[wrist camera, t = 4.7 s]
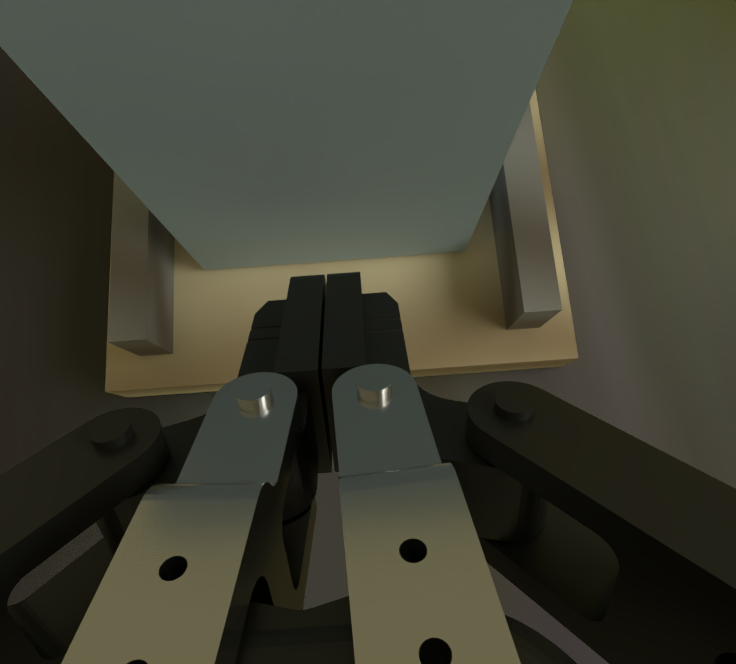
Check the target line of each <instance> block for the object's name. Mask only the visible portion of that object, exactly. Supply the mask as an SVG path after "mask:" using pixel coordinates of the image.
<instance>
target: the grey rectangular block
mask: <svg viewBox="0 0 736 664" xmlns="http://www.w3.org/2000/svg"><path fill="white" fill-rule="evenodd" d="M572 2H573V0H0V47H1V48H2V49H3V50H4V51H5V52H6V53H7V55H8V56H9V57H10V58H11V59H12V60H13V61H14V62H15V63H16V64H17V65H18V67H19V68H20V69H21V70H22V71H23V72H24V73H25V74H26V75H27V76H28V78H29V79H30V80H31V81H32V82H33V83H34V84H35V85H36V86H37V87H38V88H39V90H40V91H41V92H42V93H43V94H44V95H45V96H46V97H47V98H48V99H49V101H50V102H51V103H52V104H53V105H54V106H55V107H56V108H57V109H58V110H59V111H60V113H61V114H62V115H63V116H64V117H65V118H66V119H67V120H68V121H69V122H70V124H71V125H72V126H73V127H74V128H75V129H76V130H77V131H78V132H79V133H80V134H81V136H82V137H83V138H84V139H85V140H86V141H87V142H88V143H89V144H90V145H91V146H92V148H93V149H94V150H95V151H96V152H97V153H98V154H99V155H100V156H101V157H102V159H103V160H104V161H105V162H106V163H107V164H108V165H109V166H110V167H111V168H112V169H113V171H114V172H115V173H116V174H117V175H118V176H119V177H120V178H121V179H122V180H123V182H124V183H125V184H126V185H127V186H128V187H129V188H130V189H131V190H132V191H133V192H134V194H135V195H136V196H137V197H138V198H139V199H140V200H141V201H142V202H143V203H144V205H145V206H146V207H147V208H148V209H149V210H150V211H151V212H152V213H153V214H154V215H155V217H156V218H157V219H158V220H159V221H160V222H161V223H162V224H163V225H164V226H165V228H166V229H167V230H168V231H169V232H170V233H171V234H172V235H173V236H174V237H175V238H176V240H177V241H178V242H179V243H180V244H181V245H182V246H183V247H184V248H185V249H186V251H187V252H188V253H189V254H190V255H191V256H192V257H193V258H194V259H195V260H196V261H197V263H198V264H199V265H200V266H201V267H202V268H203V269H204V270H212V269H226V268H241V267H255V266H269V265H283V264H297V263H311V262H325V261H339V260H353V259H367V258H381V257H395V256H409V255H423V254H438V253H452V252H465V251H466V248H467V246H468V244H469V241H470V239H471V237H472V234H473V232H474V230H475V227H476V225H477V223H478V221H479V218H480V216H481V214H482V211H483V209H484V207H485V204H486V202H487V200H488V197H489V195H490V193H491V190H492V188H493V186H494V183H495V181H496V179H497V176H498V174H499V172H500V169H501V167H502V165H503V162H504V160H505V158H506V155H507V153H508V151H509V148H510V146H511V144H512V141H513V139H514V137H515V134H516V132H517V130H518V127H519V125H520V123H521V120H522V118H523V116H524V113H525V111H526V109H527V107H528V104H529V102H530V100H531V97H532V95H533V93H534V90H535V88H536V86H537V83H538V81H539V79H540V76H541V74H542V72H543V69H544V67H545V65H546V62H547V60H548V58H549V55H550V53H551V51H552V48H553V46H554V44H555V41H556V39H557V37H558V34H559V32H560V30H561V27H562V25H563V23H564V20H565V18H566V16H567V13H568V11H569V9H570V6H571V4H572Z"/></svg>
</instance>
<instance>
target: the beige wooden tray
mask: <svg viewBox="0 0 736 664" xmlns="http://www.w3.org/2000/svg"><path fill="white" fill-rule="evenodd" d="M348 272H360V275H361V287H362V294H365V293H379V292H387V293H388V294H389V295H390V296H391V297H392V298H393V299H394V300H395V301H396V302H397V303H398V306H399V311H400V317H401V322H402V329H403V334H404V339H405V345H406V351H407V356H408V362H409V367H410V373H411V375H412V377H421V376H435V375H449V374H463V373H477V372H491V371H505V370H519V369H533V368H547V367H561V366H564V365H566V364H568V363H570V362H572V361H574V360H576V359H578V352H577V345H576V339H575V333H574V327H573V320H572V314H571V308H570V302H569V296H568V289H567V283H566V277H565V271H564V264H563V258H562V252H561V246H560V239H559V233H558V227H557V221H556V215H555V208H554V202H553V196H552V190H551V183H550V177H549V171H548V165H547V159H546V152H545V146H544V140H543V134H542V127H541V121H540V115H539V109H538V102H537V96H536V90H534V93H533V95H532V97H531V100H530V102H529V104H528V107H527V109H526V111H525V113H524V116H523V118H522V120H521V123H520V125H519V127H518V130H517V132H516V134H515V137H514V139H513V141H512V144H511V146H510V148H509V151H508V153H507V155H506V158H505V160H504V162H503V165H502V167H501V169H500V172H499V174H498V176H497V179H496V181H495V183H494V186H493V188H492V190H491V193H490V195H489V197H488V200H487V202H486V204H485V207H484V209H483V211H482V214H481V216H480V218H479V221H478V223H477V225H476V227H475V230H474V232H473V234H472V237H471V239H470V241H469V244H468V246H467V248H466V251H465V252H452V253H438V254H423V255H409V256H395V257H381V258H367V259H353V260H339V261H325V262H311V263H297V264H283V265H269V266H255V267H241V268H226V269H212V270H204V269H203V268H202V267H201V266H200V265H199V264H198V263H197V261H196V260H195V259H194V258H193V257H192V256H191V255H190V254H189V253H188V252H187V251H186V249H185V248H184V247H183V246H182V245H181V244H180V243H179V242H178V241H177V240H176V238H175V237H174V236H173V235H172V234H171V233H170V232H169V231H168V230H167V229H166V228H165V226H164V225H163V224H162V223H161V222H160V221H159V220H158V219H157V218H156V217H155V215H154V214H153V213H152V212H151V211H150V210H149V209H148V208H147V207H146V206H145V205H144V203H143V202H142V201H141V200H140V199H139V198H138V197H137V196H136V195H135V194H134V192H133V191H132V190H131V189H130V188H129V187H128V186H127V185H126V184H125V183H124V182H123V180H122V179H121V178H120V177H119V176H118V175H117V174H116V173H115V172H114V184H113V208H112V233H111V257H110V282H109V306H108V331H107V355H106V379H105V392H108V393H112V394H116V395H120V396H124V397H140V396H154V395H168V394H182V393H196V392H210V391H218V390H219V389H220V388H222V387H223V386H224V385H225V384H227V383H228V382H230V381H232V380H234V379H236V378H237V377H238V373H239V370H240V366H241V362H242V359H243V355H244V352H245V348H246V344H247V342H248V337H249V333H250V331H251V326H252V323H253V319H254V315H255V313H256V312H257V311H258V310H259V309H260V308H261V307H262V306H263V305H264V304H265V303H266V302H267V301H272V300H286V299H287V293H288V288H289V283H290V278H291V277H295V276H309V275H323V274H324V275H325V278H326V282H327V274H335V273H348Z"/></svg>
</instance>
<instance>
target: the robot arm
mask: <svg viewBox="0 0 736 664" xmlns="http://www.w3.org/2000/svg"><path fill="white" fill-rule="evenodd" d="M332 452H333V460H334V467H335V472H339V476H340V477H339V489H340V501H341V512H342V523H343V534H344V545H345V556H346V567H347V578H348V589H349V596H347V597H344V598H341V599H338V600H335V601H332V602H329V603H326V604H323V605H320V606H317V607H314V608H311V609H306V610H303V604H304V595H305V588H306V581H307V574H308V567H309V560H310V553H311V546H312V539H313V532H314V525H315V518H316V511H317V506H316V499H315V495H316V491H317V477H318V473H328V472H331V471H332ZM550 503H551V504H550ZM553 505H554V506H553ZM556 507H557V508H556ZM559 509H560V510H559ZM562 511H563V512H562ZM565 513H566V514H565ZM568 515H569V516H568ZM571 517H572V518H571ZM574 519H575V520H574ZM577 521H578V522H577ZM95 522H96V523H97V525H98V527H99V529H100V531H101V533H102V535H103V537H104V538H102V539H101V540H100V541H99V542H97V543H96V544H95V545H94V546H92V547H91V548H90V549H89V550H87V551H86V552H85V553H83V554H82V555H81V556H80V557H78V558H77V559H76V560H75V561H73V562H72V563H71V564H69V565H68V566H67V567H66V568H64V569H63V570H62V571H61V572H59V573H58V574H57V575H55V576H54V577H53V578H52V579H50V580H49V581H48V582H47V583H45V584H44V585H43V586H41V587H40V588H39V589H38V590H36V591H35V592H34V593H33V594H31V595H30V596H29V597H27V598H26V599H25V600H23V601H21V602H19V603H17V604H15V605H11V606H7V601H8V598H9V595H10V593H11V591H12V590H13V588H14V587H15V585H16V584H17V583H18V582H19V581H20V580H21V579H22V578H23V577H24V576H25V575H26V574H27V573H29V572H30V571H31V570H33V569H34V568H35V567H37V566H38V565H39V564H41V563H42V562H43V561H45V560H46V559H47V558H49V557H50V556H51V555H53V554H54V553H55V552H56V551H58V550H59V549H60V548H62V547H63V546H64V545H66V544H67V543H68V542H70V541H71V540H72V539H74V538H75V537H76V536H78V535H79V534H80V533H82V532H83V531H84V530H86V529H87V528H88V527H90V526H91V525H92V524H94V523H95ZM580 523H581V524H580ZM583 525H584V526H583ZM586 527H587V528H586ZM589 529H590V530H589ZM592 531H593V532H592ZM595 533H596V534H595ZM487 563H488V564H490V565H491V566H492V567H493V568H494V569H496V570H497V571H498V572H499V573H501V574H502V575H503V576H504V577H505V578H507V579H508V580H509V581H510V582H511V583H513V584H514V585H515V586H516V587H517V588H519V589H520V590H521V591H522V592H524V593H525V594H526V595H527V596H528V597H530V598H531V599H532V600H533V601H534V602H536V603H537V604H538V605H539V606H540V607H542V608H543V609H544V610H545V611H547V612H548V613H549V614H550V615H551V616H553V617H554V618H555V619H556V620H557V621H559V622H560V623H561V624H562V625H563V626H565V627H566V628H567V629H568V630H569V631H571V632H572V633H573V634H574V635H576V636H577V637H578V638H579V639H580V640H582V641H583V642H584V643H585V644H586V645H588V646H589V647H590V648H591V649H592V650H594V651H595V652H596V653H597V654H599V655H600V656H601V657H602V658H603V659H605V660H606V661H607V662H608V663H609V664H736V489H735V488H733V487H731V486H729V485H727V484H725V483H723V482H721V481H719V480H717V479H715V478H713V477H711V476H709V475H708V474H706V473H704V472H702V471H700V470H698V469H696V468H694V467H692V466H690V465H688V464H686V463H684V462H682V461H680V460H678V459H676V458H674V457H672V456H671V455H669V454H667V453H665V452H663V451H661V450H659V449H657V448H655V447H653V446H651V445H649V444H647V443H645V442H643V441H641V440H639V439H637V438H635V437H634V436H632V435H630V434H628V433H626V432H624V431H622V430H620V429H618V428H616V427H614V426H612V425H610V424H608V423H606V422H604V421H602V420H600V419H598V418H597V417H595V416H593V415H591V414H589V413H587V412H585V411H583V410H581V409H579V408H577V407H575V406H573V405H571V404H569V403H567V402H565V401H563V400H562V399H560V398H558V397H556V396H554V395H552V394H550V393H548V392H546V391H544V390H542V389H540V388H538V387H535V386H532V385H529V384H526V383H521V382H512V381H503V382H495V383H491V384H488V385H485V386H483V387H481V388H479V389H478V390H476V391H475V392H474V393H473V394H472V395H471V397H470V399H469V401H468V403H467V402H460V401H453V400H448V399H443V398H440V397H436V396H434V395H431V394H429V393H427V392H426V391H424V390H423V389H421V388H420V387H419V386H418V385H417V383H416V381H415V379H414V378H413V377H412V375H411V373H410V367H409V362H408V356H407V351H406V345H405V339H404V334H403V329H402V322H401V317H400V311H399V306H398V303H397V302H396V301H395V300H394V299H393V298H392V297H391V296H390V295H389V294H388V293H387V292H379V293H365V294H362V287H361V275H360V272H348V273H335V274H327V282H326V278H325V275H324V274H323V275H309V276H295V277H291V278H290V283H289V288H288V293H287V299H286V300H272V301H267V302H266V303H265V304H264V305H263V306H262V307H261V308H260V309H259V310H258V311H257V312H256V313H255V315H254V319H253V323H252V326H251V331H250V333H249V337H248V342H247V344H246V348H245V352H244V355H243V359H242V362H241V366H240V370H239V373H238V377H237V378H236V379H234V380H232V381H230V382H228V383H227V384H225V385H224V386H223V387H222V388H220V389H219V390H218V392H217V393H216V394H215V396H214V398H213V400H212V402H211V404H210V406H209V409H208V411H207V413H206V414H205V415H202V416H200V417H197V418H194V419H191V420H188V421H185V422H181V423H178V424H174V425H171V426H167V427H164V428H162V426H161V423H160V420H159V418H158V417H157V416H156V415H155V414H154V413H153V412H151V411H149V410H146V409H142V408H124V409H118V410H114V411H110V412H107V413H105V414H102V415H100V416H97V417H95V418H93V419H92V420H90V421H88V422H86V423H85V424H83V425H82V426H80V427H78V428H77V429H75V430H73V431H72V432H70V433H69V434H67V435H65V436H64V437H62V438H60V439H59V440H57V441H56V442H54V443H52V444H51V445H49V446H47V447H46V448H44V449H43V450H41V451H39V452H38V453H36V454H34V455H33V456H31V457H30V458H28V459H26V460H25V461H23V462H21V463H20V464H18V465H17V466H15V467H13V468H12V469H10V470H8V471H7V472H5V473H4V474H2V475H0V664H577V663H576V662H575V661H574V660H573V659H572V658H570V657H569V656H568V655H567V654H566V653H565V652H564V651H562V650H561V649H560V648H559V647H558V646H556V645H555V644H554V643H552V642H551V641H550V640H548V639H547V638H545V637H544V636H543V635H541V634H540V633H538V632H537V631H535V630H533V629H532V628H530V627H528V626H526V625H525V624H523V623H521V622H519V621H517V620H515V619H513V618H511V617H508V616H506V615H504V612H503V609H502V606H501V604H500V601H499V598H498V595H497V592H496V589H495V586H494V583H493V580H492V577H491V574H490V571H489V568H488V565H487Z"/></svg>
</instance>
